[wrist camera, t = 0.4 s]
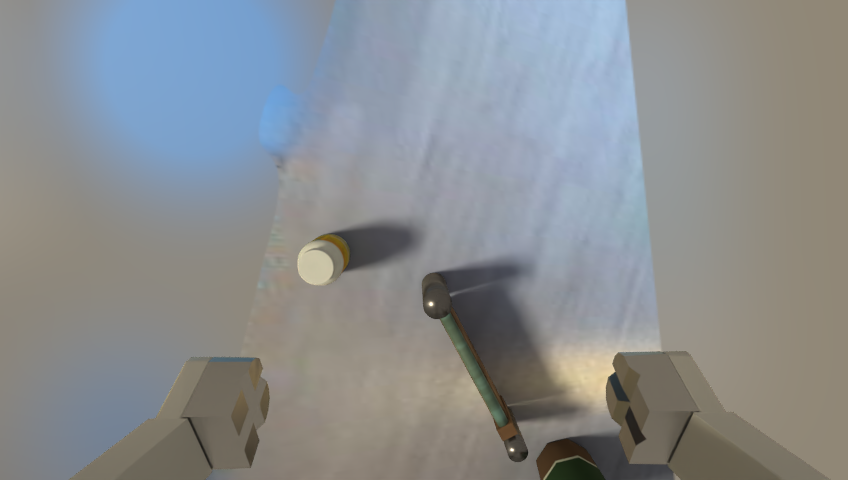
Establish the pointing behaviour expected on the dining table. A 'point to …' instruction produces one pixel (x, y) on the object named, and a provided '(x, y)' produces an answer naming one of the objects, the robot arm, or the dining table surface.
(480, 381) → the brown wooden panel
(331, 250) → the supplement bottle
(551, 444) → the beer bottle
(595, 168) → the dining table surface
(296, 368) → the dining table surface
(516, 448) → the posts
